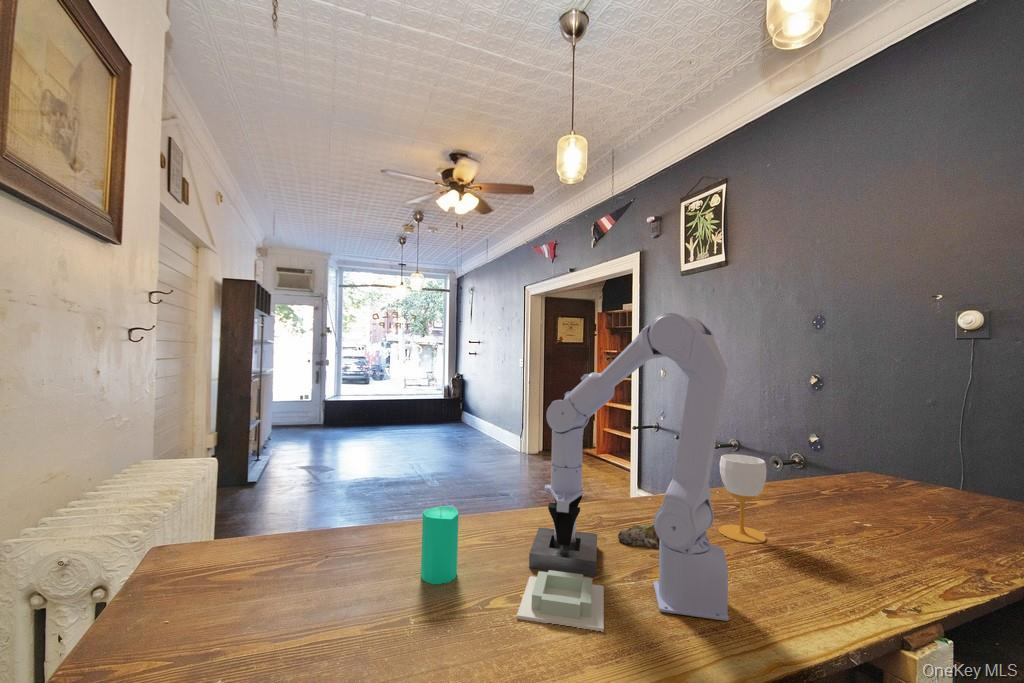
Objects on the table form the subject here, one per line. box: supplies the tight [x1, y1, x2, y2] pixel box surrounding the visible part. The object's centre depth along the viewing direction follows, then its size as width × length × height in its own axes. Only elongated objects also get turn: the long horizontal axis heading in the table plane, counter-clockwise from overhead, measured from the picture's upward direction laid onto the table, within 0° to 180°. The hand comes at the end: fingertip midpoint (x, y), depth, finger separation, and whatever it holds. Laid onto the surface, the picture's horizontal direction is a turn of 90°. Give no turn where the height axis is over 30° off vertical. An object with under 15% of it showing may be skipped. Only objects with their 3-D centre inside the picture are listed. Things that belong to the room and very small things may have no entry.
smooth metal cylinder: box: [553, 519, 577, 551], centre depth 80 cm, size 4×4×8 cm
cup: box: [718, 453, 768, 544], centre depth 92 cm, size 9×9×16 cm
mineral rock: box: [617, 523, 660, 549], centre depth 88 cm, size 11×4×8 cm
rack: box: [516, 570, 605, 633], centre depth 65 cm, size 12×11×2 cm
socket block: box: [528, 527, 598, 577], centre depth 80 cm, size 12×12×2 cm
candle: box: [420, 502, 460, 585], centre depth 72 cm, size 6×6×12 cm
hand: (565, 538), depth 80 cm, fingers open, 5 cm apart
